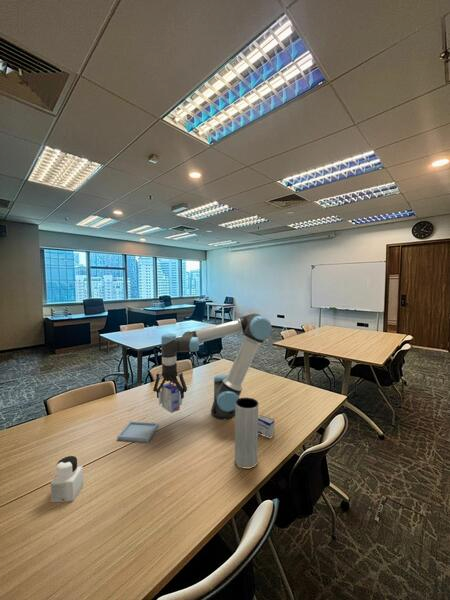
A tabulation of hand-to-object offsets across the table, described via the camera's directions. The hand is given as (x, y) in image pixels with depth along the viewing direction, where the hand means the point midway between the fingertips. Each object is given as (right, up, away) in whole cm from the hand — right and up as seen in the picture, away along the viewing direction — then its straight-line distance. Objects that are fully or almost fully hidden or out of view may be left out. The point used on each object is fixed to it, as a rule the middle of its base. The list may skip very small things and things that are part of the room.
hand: (170, 404), depth 135 cm
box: (+50, -15, -3) cm, 52 cm away
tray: (-16, -14, -3) cm, 22 cm away
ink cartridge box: (0, -3, 0) cm, 3 cm away
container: (-30, -17, -40) cm, 53 cm away
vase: (+38, -16, -23) cm, 47 cm away
